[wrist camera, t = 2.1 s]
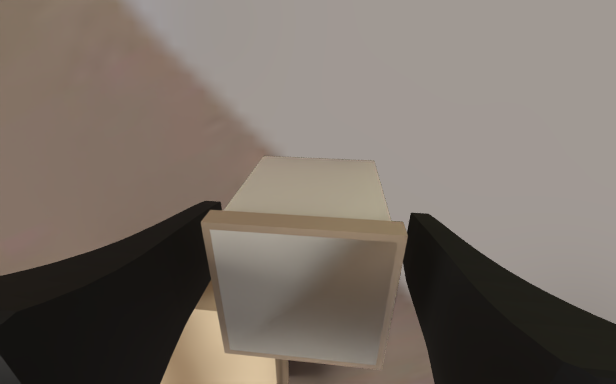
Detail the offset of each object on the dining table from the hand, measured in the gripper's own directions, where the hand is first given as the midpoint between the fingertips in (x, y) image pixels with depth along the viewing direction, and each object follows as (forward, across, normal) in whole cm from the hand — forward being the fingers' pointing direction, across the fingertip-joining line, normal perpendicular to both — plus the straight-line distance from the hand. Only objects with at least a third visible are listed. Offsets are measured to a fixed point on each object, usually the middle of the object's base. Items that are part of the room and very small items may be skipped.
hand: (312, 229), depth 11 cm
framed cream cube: (+2, 0, 0) cm, 2 cm away
